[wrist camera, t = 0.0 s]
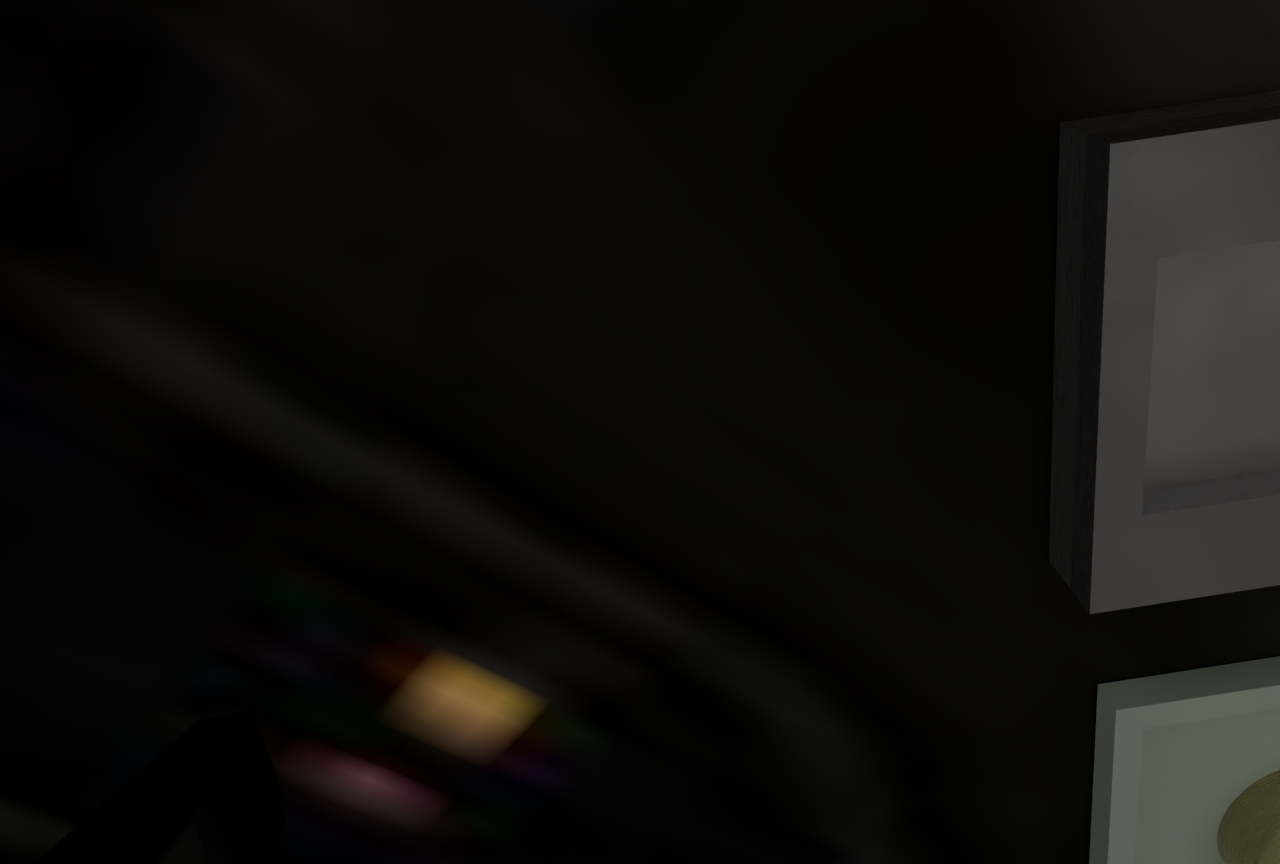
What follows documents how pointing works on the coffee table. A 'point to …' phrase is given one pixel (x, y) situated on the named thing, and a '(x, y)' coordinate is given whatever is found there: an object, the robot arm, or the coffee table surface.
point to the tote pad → (1179, 759)
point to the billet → (1252, 825)
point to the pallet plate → (1167, 354)
